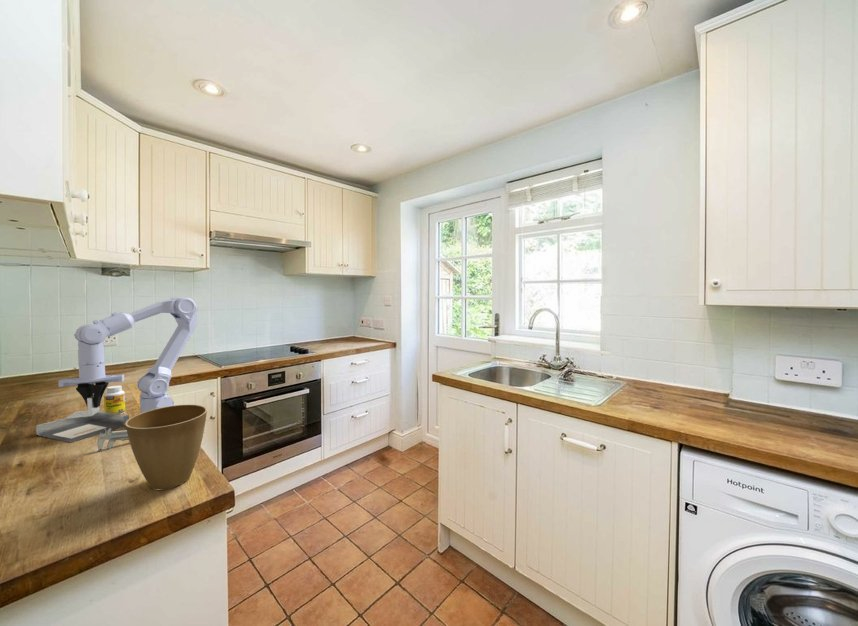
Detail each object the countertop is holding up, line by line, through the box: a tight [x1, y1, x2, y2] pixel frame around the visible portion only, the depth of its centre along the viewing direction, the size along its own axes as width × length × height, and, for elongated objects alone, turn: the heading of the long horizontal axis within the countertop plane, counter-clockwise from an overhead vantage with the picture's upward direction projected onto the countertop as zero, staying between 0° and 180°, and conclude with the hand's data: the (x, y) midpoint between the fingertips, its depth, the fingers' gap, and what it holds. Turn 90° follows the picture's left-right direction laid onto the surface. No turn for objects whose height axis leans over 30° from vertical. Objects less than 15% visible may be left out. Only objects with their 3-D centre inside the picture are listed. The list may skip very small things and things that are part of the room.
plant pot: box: [124, 404, 208, 490], centre depth 78 cm, size 15×15×16 cm
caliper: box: [97, 428, 129, 452], centre depth 102 cm, size 20×1×6 cm, turn 143°
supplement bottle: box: [103, 385, 126, 414], centre depth 123 cm, size 6×6×10 cm
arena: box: [35, 410, 130, 444], centre depth 109 cm, size 16×15×3 cm
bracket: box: [67, 395, 101, 419], centre depth 103 cm, size 6×5×6 cm
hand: (93, 407), depth 104 cm, fingers closed on bracket
